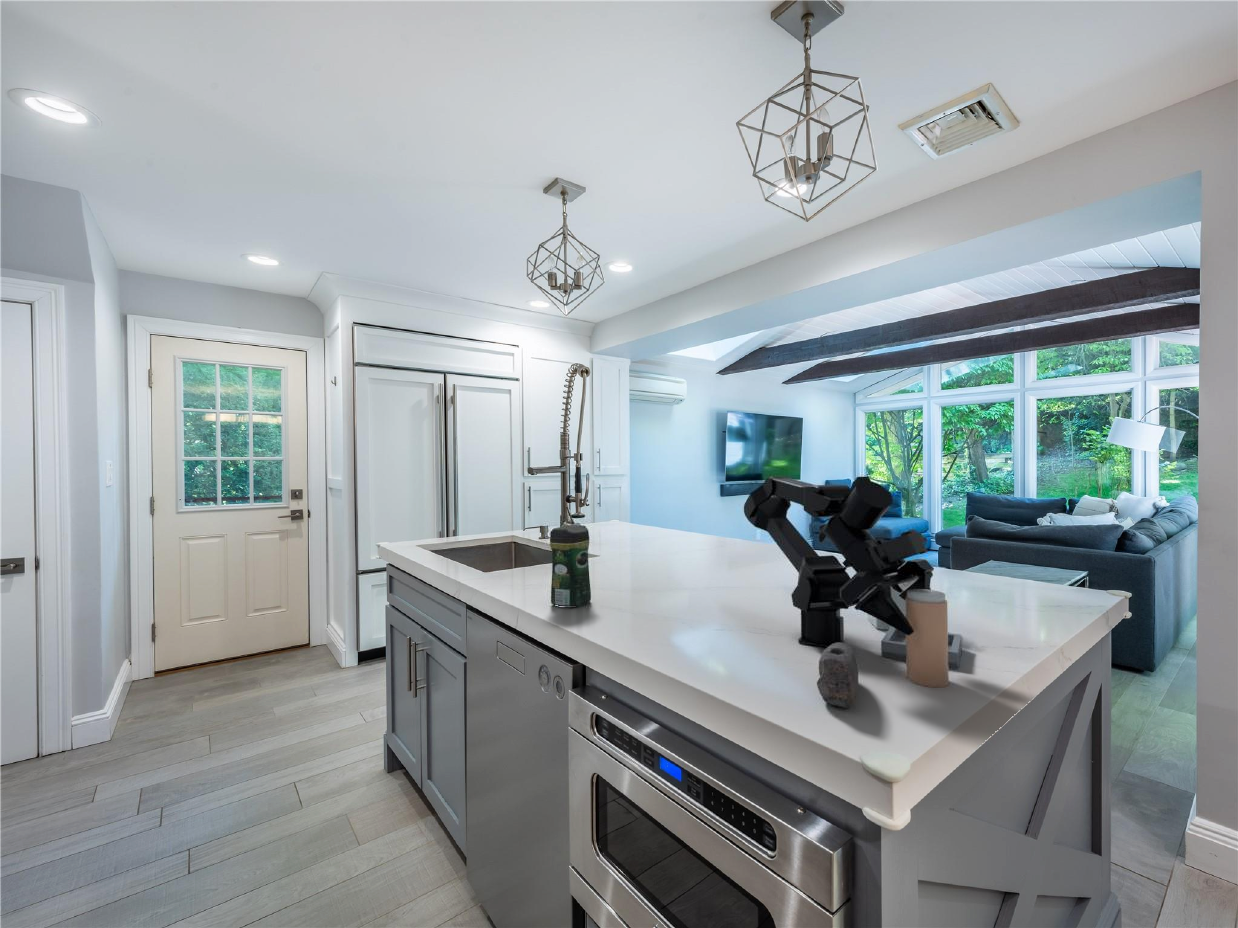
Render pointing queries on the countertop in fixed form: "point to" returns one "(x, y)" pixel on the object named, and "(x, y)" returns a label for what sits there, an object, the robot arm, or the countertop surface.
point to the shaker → (927, 638)
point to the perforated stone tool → (838, 675)
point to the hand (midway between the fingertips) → (927, 627)
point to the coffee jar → (570, 565)
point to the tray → (896, 646)
